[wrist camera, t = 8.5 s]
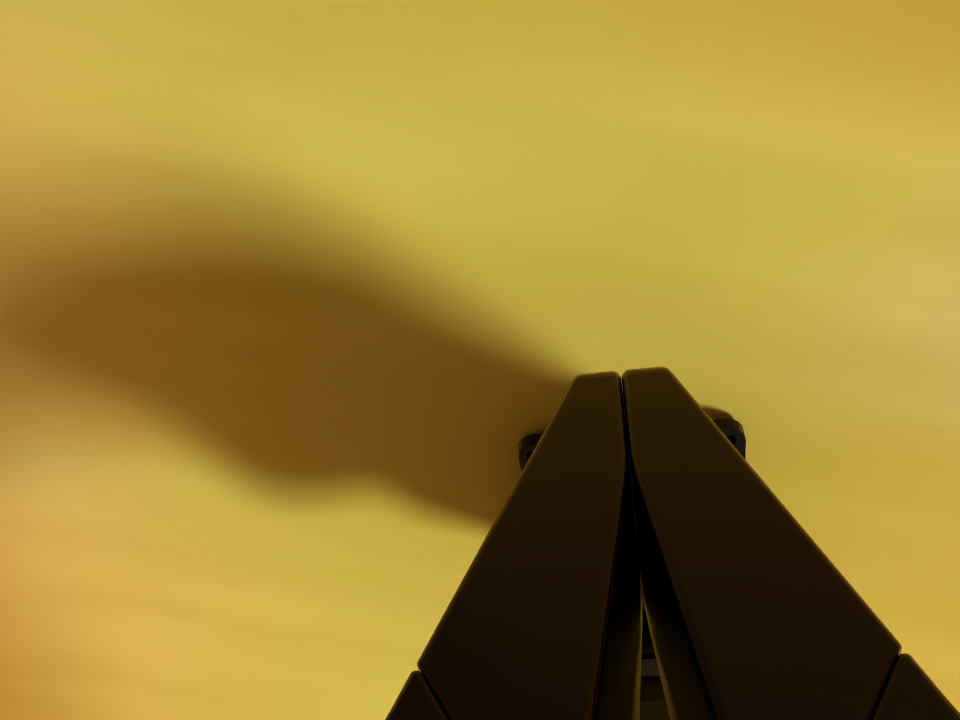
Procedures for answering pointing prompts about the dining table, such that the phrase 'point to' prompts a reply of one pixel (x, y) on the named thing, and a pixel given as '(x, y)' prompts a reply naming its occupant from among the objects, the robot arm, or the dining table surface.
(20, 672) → the dining table surface
